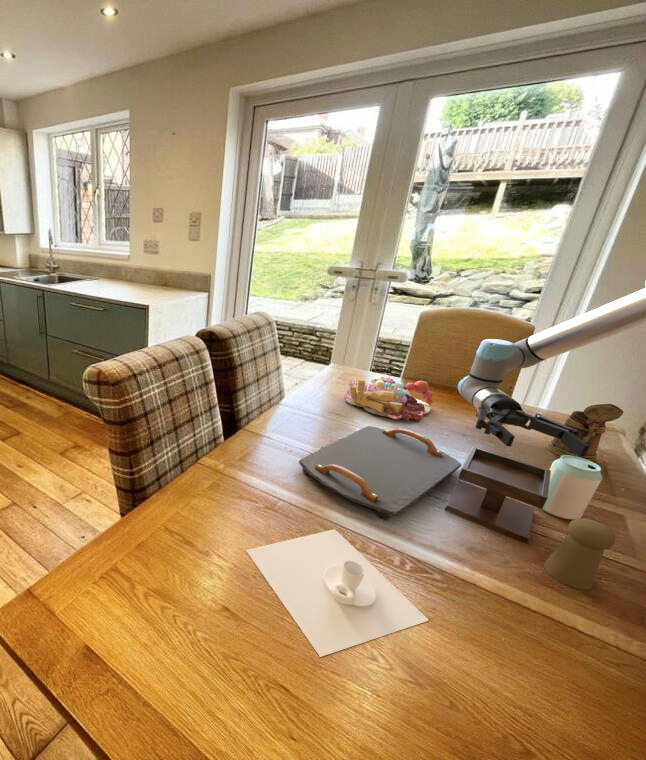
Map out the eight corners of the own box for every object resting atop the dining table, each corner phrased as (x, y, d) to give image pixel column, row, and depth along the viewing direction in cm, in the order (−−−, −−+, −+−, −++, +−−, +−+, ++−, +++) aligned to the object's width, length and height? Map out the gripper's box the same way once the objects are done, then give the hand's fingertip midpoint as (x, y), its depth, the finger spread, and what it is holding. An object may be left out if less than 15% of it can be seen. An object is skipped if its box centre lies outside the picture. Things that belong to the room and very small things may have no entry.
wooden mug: (553, 463, 100) (583, 399, 94) (544, 441, 111) (571, 382, 104) (603, 475, 96) (640, 409, 89) (589, 451, 106) (621, 390, 99)
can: (557, 499, 87) (581, 453, 82) (590, 522, 80) (617, 473, 76) (524, 498, 87) (546, 452, 83) (554, 521, 81) (580, 472, 76)
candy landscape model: (414, 429, 116) (423, 401, 112) (333, 403, 132) (339, 378, 128) (436, 405, 132) (444, 379, 128) (361, 384, 148) (367, 361, 144)
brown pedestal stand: (532, 511, 83) (552, 470, 79) (526, 543, 75) (549, 499, 71) (456, 483, 92) (471, 445, 88) (444, 509, 84) (460, 468, 80)
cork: (542, 574, 68) (569, 524, 64) (544, 555, 72) (569, 507, 68) (593, 596, 64) (625, 545, 60) (591, 575, 68) (621, 525, 64)
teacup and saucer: (343, 615, 61) (348, 596, 59) (308, 574, 68) (313, 556, 66) (387, 601, 63) (394, 582, 62) (350, 562, 70) (355, 545, 69)
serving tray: (385, 532, 77) (393, 507, 75) (286, 473, 95) (290, 451, 93) (465, 469, 97) (473, 448, 95) (371, 430, 115) (376, 411, 113)
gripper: (547, 425, 105) (609, 469, 87) (440, 412, 112) (476, 451, 93) (559, 400, 103) (625, 440, 84) (448, 388, 109) (487, 423, 90)
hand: (547, 446), depth 88 cm, fingers open, 13 cm apart
